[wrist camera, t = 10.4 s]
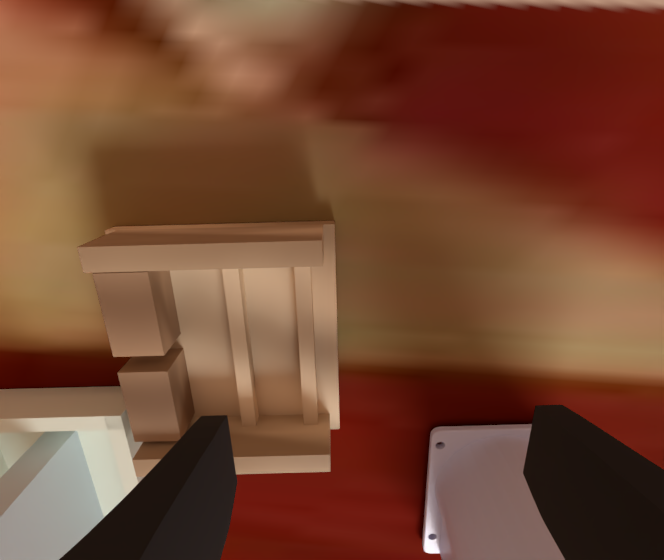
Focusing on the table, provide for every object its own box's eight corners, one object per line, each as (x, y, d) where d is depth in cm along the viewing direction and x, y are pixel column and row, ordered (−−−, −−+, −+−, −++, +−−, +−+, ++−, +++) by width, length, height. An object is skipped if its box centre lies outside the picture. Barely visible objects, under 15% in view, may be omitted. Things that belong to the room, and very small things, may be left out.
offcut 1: (180, 333, 19) (164, 355, 17) (134, 334, 19) (113, 357, 17) (167, 257, 17) (147, 272, 15) (117, 259, 17) (92, 273, 15)
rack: (339, 418, 21) (341, 471, 18) (157, 423, 21) (125, 477, 18) (334, 220, 18) (335, 240, 14) (114, 226, 18) (63, 247, 14)
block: (108, 530, 23) (37, 655, 18) (81, 531, 23) (2, 655, 18) (76, 429, 21) (-18, 537, 15) (46, 429, 21) (-59, 538, 15)
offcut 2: (195, 412, 20) (181, 440, 18) (152, 413, 20) (134, 442, 18) (183, 348, 19) (167, 371, 17) (138, 349, 19) (117, 372, 17)
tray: (179, 545, 25) (164, 586, 22) (38, 549, 25) (9, 590, 22) (143, 385, 21) (120, 415, 18) (-27, 389, 21) (-70, 420, 18)
